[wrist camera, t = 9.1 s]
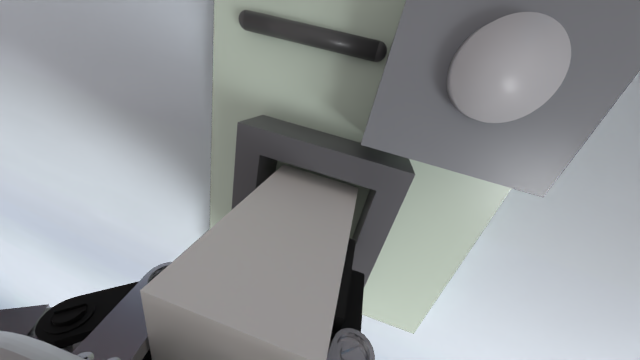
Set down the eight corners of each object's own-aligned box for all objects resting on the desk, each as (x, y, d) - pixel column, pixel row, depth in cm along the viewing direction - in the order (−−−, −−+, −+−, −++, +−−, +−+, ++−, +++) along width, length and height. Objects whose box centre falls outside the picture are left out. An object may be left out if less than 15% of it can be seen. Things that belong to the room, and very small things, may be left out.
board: (615, -11, 9) (823, -91, 5) (410, 314, 17) (420, 386, 13) (236, -81, 11) (147, -184, 7) (220, 245, 19) (178, 289, 15)
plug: (358, 187, 11) (325, 366, 4) (325, 283, 14) (273, 482, 7) (283, 164, 12) (140, 290, 5) (267, 262, 15) (163, 429, 8)
